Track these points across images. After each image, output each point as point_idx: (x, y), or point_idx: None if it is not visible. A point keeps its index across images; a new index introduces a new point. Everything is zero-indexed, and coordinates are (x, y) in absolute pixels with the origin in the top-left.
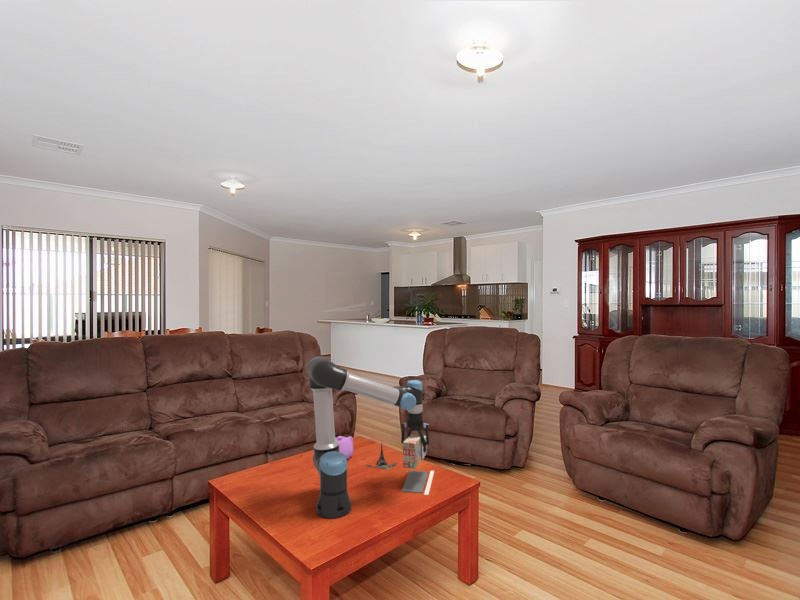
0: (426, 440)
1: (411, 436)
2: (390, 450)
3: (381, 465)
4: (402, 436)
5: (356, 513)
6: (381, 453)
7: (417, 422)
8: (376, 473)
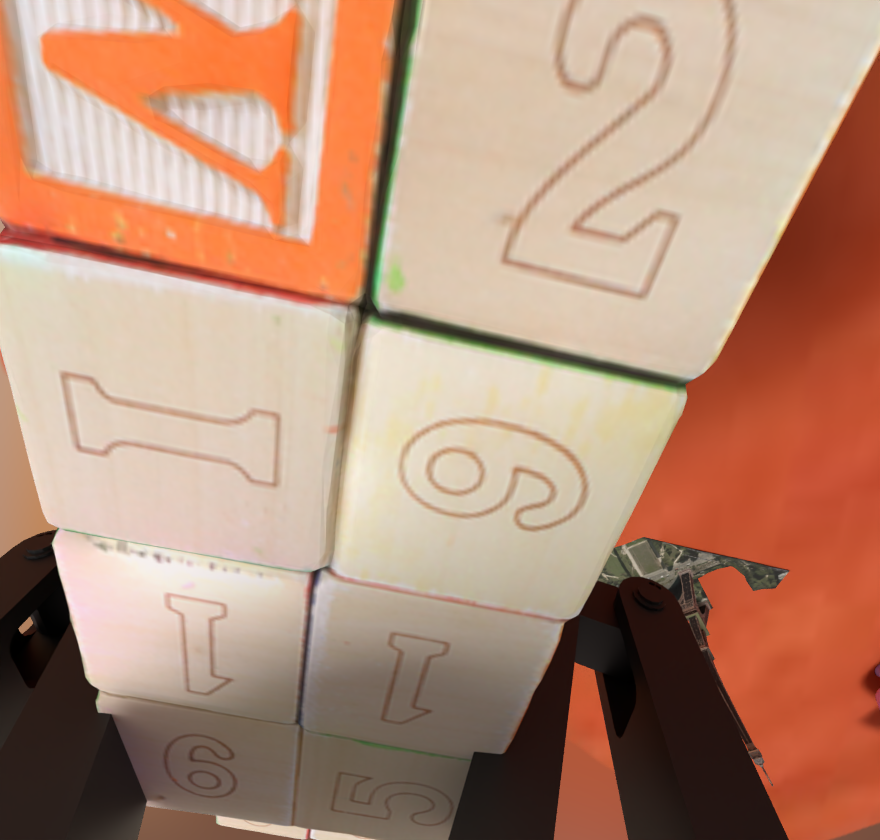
0: (7, 607)
1: (414, 744)
2: (603, 750)
3: (673, 584)
4: (724, 755)
5: None
6: (712, 666)
7: None
8: (723, 472)
